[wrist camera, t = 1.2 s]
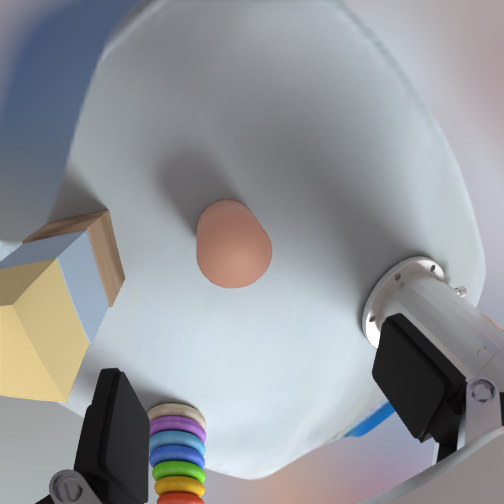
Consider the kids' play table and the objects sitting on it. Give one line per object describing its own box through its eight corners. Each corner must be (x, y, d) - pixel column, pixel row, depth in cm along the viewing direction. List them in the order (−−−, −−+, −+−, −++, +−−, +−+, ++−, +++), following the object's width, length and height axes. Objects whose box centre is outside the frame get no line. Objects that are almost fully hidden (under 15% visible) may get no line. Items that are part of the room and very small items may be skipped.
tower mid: (87, 229, 18) (58, 256, 13) (109, 304, 20) (91, 345, 16) (24, 243, 17) (-10, 269, 13) (48, 311, 19) (24, 347, 15)
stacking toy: (149, 432, 33) (147, 550, 16) (142, 397, 30) (133, 538, 13) (205, 434, 35) (220, 552, 18) (206, 400, 32) (224, 542, 15)
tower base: (108, 209, 22) (88, 226, 18) (125, 278, 25) (111, 306, 20) (49, 222, 22) (22, 241, 17) (67, 286, 24) (47, 313, 19)
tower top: (56, 258, 13) (12, 304, 9) (89, 343, 16) (66, 401, 11) (-9, 271, 13) (-52, 310, 8) (24, 346, 15) (-4, 394, 10)
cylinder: (252, 196, 24) (269, 212, 19) (257, 251, 26) (273, 282, 21) (193, 203, 24) (191, 223, 18) (201, 259, 26) (202, 293, 20)
